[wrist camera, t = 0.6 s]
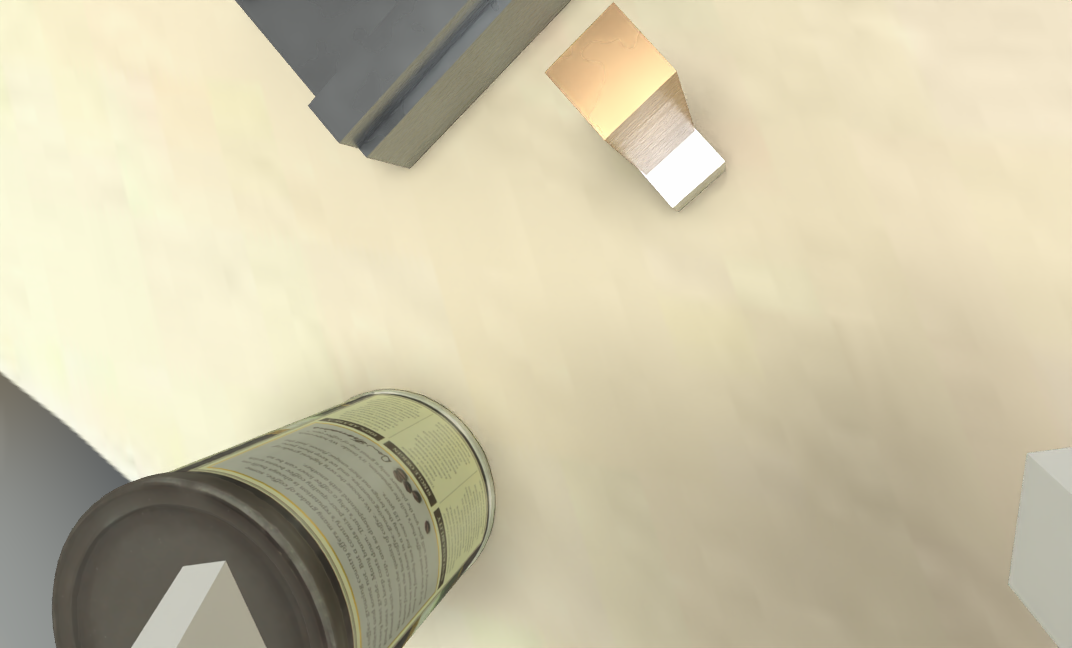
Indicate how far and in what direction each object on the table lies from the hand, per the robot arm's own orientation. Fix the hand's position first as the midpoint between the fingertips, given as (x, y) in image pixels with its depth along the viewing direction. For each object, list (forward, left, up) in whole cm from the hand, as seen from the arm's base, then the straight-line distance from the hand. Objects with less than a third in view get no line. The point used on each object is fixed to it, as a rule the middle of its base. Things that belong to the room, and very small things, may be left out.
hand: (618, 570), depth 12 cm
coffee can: (+4, +15, -19) cm, 24 cm away
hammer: (+8, -5, -19) cm, 21 cm away
